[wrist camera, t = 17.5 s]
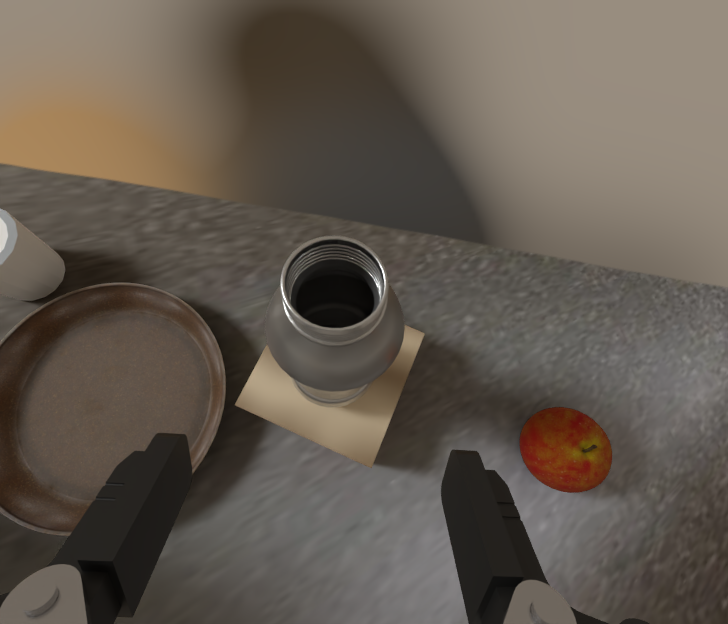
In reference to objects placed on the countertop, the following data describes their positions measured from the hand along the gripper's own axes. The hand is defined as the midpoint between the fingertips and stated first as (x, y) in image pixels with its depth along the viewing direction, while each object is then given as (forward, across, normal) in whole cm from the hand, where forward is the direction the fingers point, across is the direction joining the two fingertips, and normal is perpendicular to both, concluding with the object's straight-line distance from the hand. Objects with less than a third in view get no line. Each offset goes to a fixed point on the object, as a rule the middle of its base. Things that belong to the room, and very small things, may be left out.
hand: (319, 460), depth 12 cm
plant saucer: (+19, +19, +16) cm, 32 cm away
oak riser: (+22, 0, +13) cm, 25 cm away
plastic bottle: (+18, 0, +10) cm, 20 cm away
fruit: (+18, -20, +17) cm, 32 cm away
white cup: (+27, +30, +8) cm, 41 cm away
